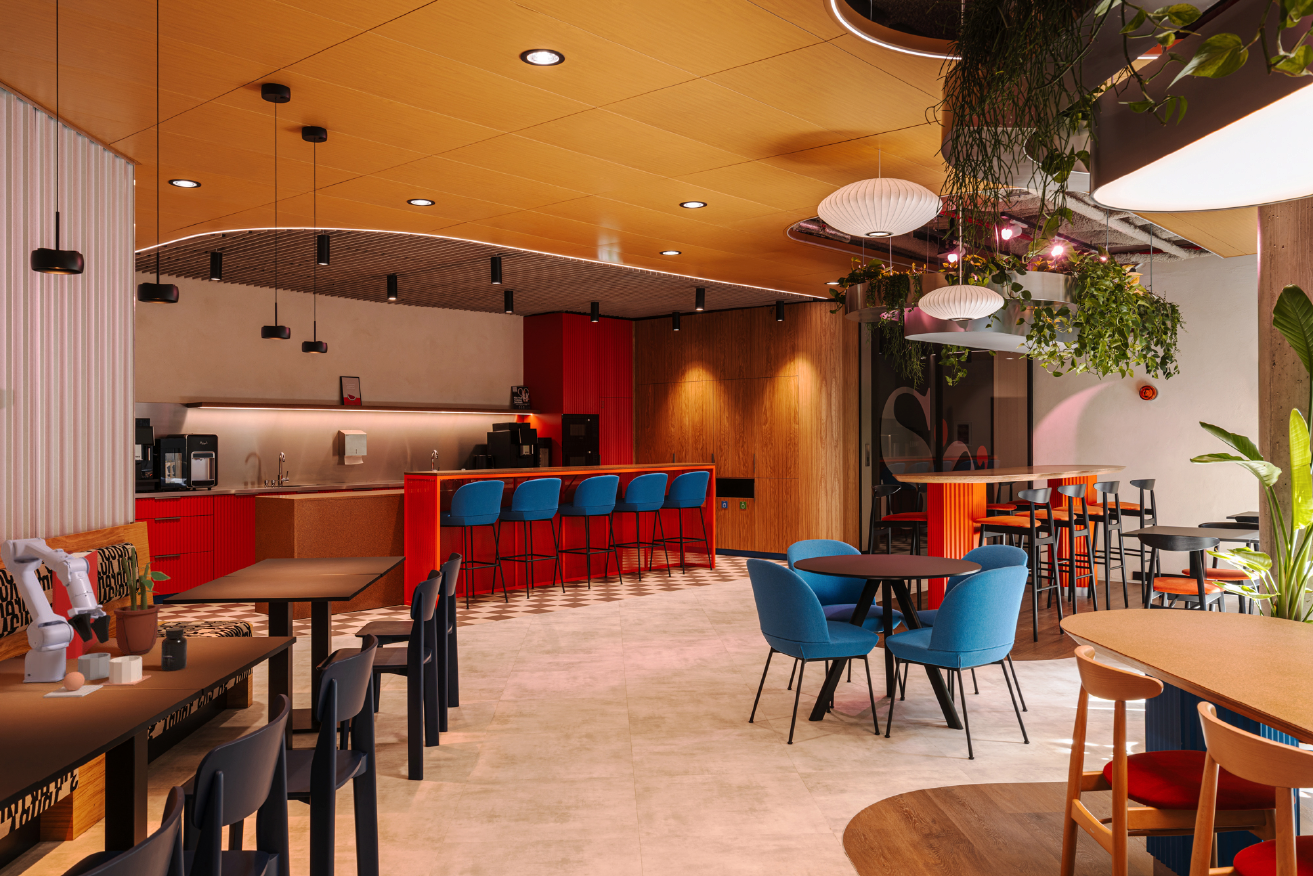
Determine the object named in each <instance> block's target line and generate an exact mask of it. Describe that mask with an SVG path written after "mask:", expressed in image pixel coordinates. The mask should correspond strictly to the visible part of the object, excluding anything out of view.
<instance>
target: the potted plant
mask: <svg viewBox="0 0 1313 876" xmlns="http://www.w3.org/2000/svg"><path fill="white" fill-rule="evenodd" d="M135 548H136V547H134V546H133V547H132V546H131V547H129V548H126V549H125V550H124V551H123V552H122V554H124V553H125V552H127V551H129V550H130V551H131V552H130V554H131V559H130V560H129V559H128V560H126V558H125V555H123V556H122V560H121V565H122V566H123V569H120V570H118V571H116V574H119V573H121V572H124V573H125V577H126V581H127V582H126V584H127V586H126V588H127V587H128V592H129V599H130V605H126V606H121V607H116V608H114V609H113V614H114V615H115V639H116V644H117V648H118V649H119V651H121V653H123V654H124V655H125V656H141V655H146V654H147V653H150V651H152V650H153V648H154V647H155V645H156V642H157V638H158V633H159V632H158V631H159V630H158V628H159V627H158V626H159V624H158V623H159V618H158V617H159V614H158V613H159V611H160V610H161V605H159V604H149V603H148V595H147V593H158V594H159V592H157V591H154V590H153V588H154V585H155V584H154V582H153V581H158V582H159V581H166V580H170V579H171V577H170V576H168V575H166V574H165V573H163V572H162V571H153V570H152V571H151V572H150V573H149V569H150V566H149V565H150V564H152V563H156V561H155V560H153V561H150V562H147V563H146V564H145V566H144V567H140V568H138V570H140V569H141V570H142V569H144V572H143V574H141V575H138V583H139V589H140V590H139V591H137V568H136V549H135ZM128 563H131V573H130V569H129V565H128ZM148 573H149V574H150V575H148ZM131 577H132V578H131ZM148 577H151V578H152V579H147V578H148ZM152 580H153V581H152ZM146 587H147V588H146ZM124 588H125V586H124V587H121V588H119V589H117V590H116V591H114V593H113V595H112V597H111V599H113V598H114V597H115V596H116V595H117V594H118V593H119V592H120V591H121V590H122V589H124ZM147 589H149V590H147ZM137 595H138V596H140V603H139V604H137V603H138V601H137Z"/></svg>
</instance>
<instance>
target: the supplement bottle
mask: <svg viewBox="0 0 1313 876" xmlns="http://www.w3.org/2000/svg"><path fill="white" fill-rule="evenodd" d="M184 635H185V631H184V628H182V627H173V628H171V627H169V628H166V629H165V638H163V639H162V640H161V652H160V653H161V655H160V656H161V657H160V659H161V661H160V662H161V663H160V667H161V670H162V671H163V672H164V671H165V672H173V671H174V672H176V671H181V670H184V669H186V667H187V665H188V663H187V662H188V661H187V658H188V639H187V638H186V637H185V636H184Z"/></svg>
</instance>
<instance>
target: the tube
mask: <svg viewBox="0 0 1313 876" xmlns="http://www.w3.org/2000/svg"><path fill="white" fill-rule="evenodd" d="M151 677H152V675H143V657H142V656H141V655H132V656H131V655H125V656H119V657H113V658H110V660H109V676H108V680H106V681H103V682H102V683H99V685H103V687H106V686H107V687H108V686H109V687H110V686H111V687H112V686H134V685H137V684H139V683H141V682H143V681H144V680H147V679H149V678H151Z"/></svg>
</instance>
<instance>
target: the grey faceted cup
mask: <svg viewBox="0 0 1313 876" xmlns="http://www.w3.org/2000/svg"><path fill="white" fill-rule="evenodd" d="M109 660H111V653H108V652H95V653H88V654H84V655H82V656H80V657H78V658H77V672H79V673H81V674H83V676H84V678H85V681H92V680H93V681H94V680H100V679H104V678H109Z"/></svg>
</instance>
